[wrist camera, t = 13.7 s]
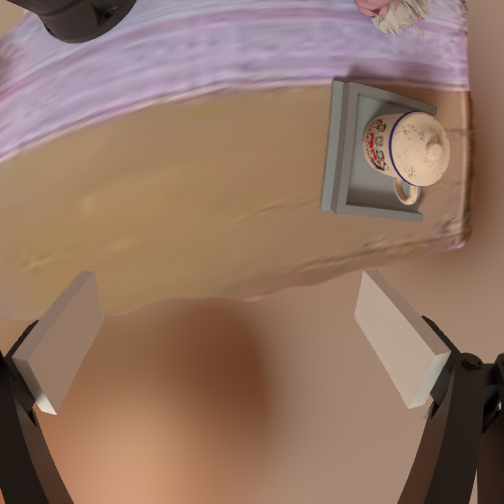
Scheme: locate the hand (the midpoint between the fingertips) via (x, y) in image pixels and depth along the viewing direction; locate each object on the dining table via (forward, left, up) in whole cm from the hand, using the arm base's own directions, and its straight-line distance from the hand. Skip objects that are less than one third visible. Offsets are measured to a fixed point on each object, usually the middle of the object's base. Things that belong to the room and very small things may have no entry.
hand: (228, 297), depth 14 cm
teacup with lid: (-8, +22, -27) cm, 35 cm away
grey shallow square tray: (-8, +21, -27) cm, 35 cm away
